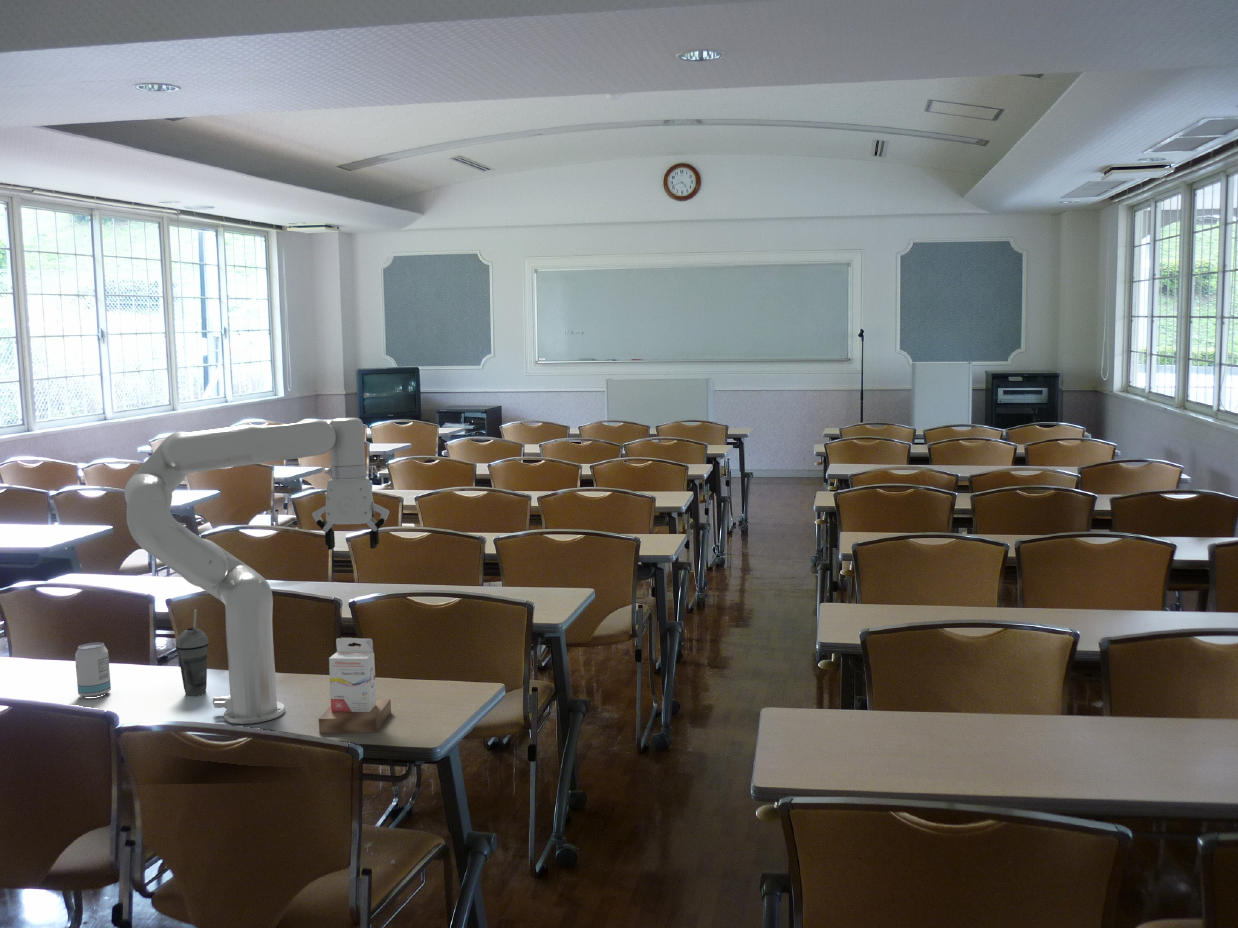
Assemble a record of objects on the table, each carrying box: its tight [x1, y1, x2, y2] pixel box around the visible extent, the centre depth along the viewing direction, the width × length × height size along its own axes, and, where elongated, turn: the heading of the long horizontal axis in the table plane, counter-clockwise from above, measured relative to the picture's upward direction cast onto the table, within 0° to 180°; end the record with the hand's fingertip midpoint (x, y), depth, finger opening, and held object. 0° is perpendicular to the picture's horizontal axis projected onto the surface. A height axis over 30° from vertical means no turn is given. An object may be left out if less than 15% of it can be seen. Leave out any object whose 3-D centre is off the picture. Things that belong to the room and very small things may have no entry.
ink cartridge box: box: [328, 637, 377, 712], centre depth 223 cm, size 9×5×15 cm, turn 85°
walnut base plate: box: [318, 698, 392, 734], centre depth 224 cm, size 12×12×3 cm
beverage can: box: [74, 642, 112, 698], centre depth 247 cm, size 7×7×12 cm
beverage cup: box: [175, 608, 210, 697], centre depth 246 cm, size 7×7×20 cm
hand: (352, 548), depth 238 cm, fingers open, 9 cm apart
